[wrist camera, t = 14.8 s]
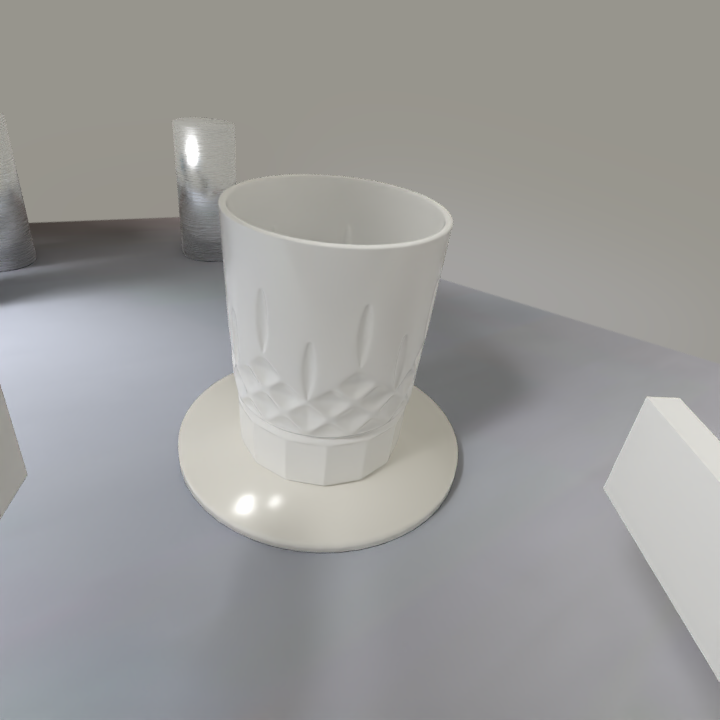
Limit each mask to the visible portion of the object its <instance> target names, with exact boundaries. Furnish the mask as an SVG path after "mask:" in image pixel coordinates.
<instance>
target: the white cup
mask: <svg viewBox="0 0 720 720" xmlns="http://www.w3.org/2000/svg"><path fill="white" fill-rule="evenodd" d="M218 209H219V220H220V231H221V243H222V254H223V267H224V279H225V291H226V304H227V316H228V326H229V335H230V342H231V347H232V363H233V372H234V376H235V381H236V385H237V389H238V398H239V412H240V426H241V437H242V440H243V442H244V444H245V445H246V447H247V449H248V450H249V452H250V453H251V455H252V457H253V458H254V460H255V462H256V463H258V464H259V465H261V466H263V467H264V468H266V469H268V470H270V471H271V472H273V473H275V474H277V475H278V476H280V477H282V478H283V479H285V480H290V481H296V482H302V483H308V484H314V485H320V486H327V485H333V484H339V483H345V482H351V481H356V480H361V479H362V478H364V477H366V476H367V475H369V474H370V473H372V472H374V471H375V470H377V469H378V468H380V467H381V466H383V465H385V464H386V463H387V462H388V460H389V458H390V456H391V454H392V452H393V450H394V448H395V446H396V444H397V441H398V439H399V435H400V430H401V426H402V421H403V417H404V412H405V408H406V405H407V403H408V401H409V399H410V396H411V392H412V389H413V385H414V381H415V377H416V372H417V368H418V365H419V361H420V358H421V354H422V350H423V346H424V343H425V340H426V336H427V332H428V328H429V323H430V319H431V315H432V311H433V306H434V302H435V298H436V293H437V289H438V285H439V280H440V276H441V272H442V268H443V263H444V259H445V255H446V251H447V247H448V243H449V238H450V234H451V230H452V226H453V219H452V216H451V214H450V213H449V212H448V210H446V208H444V207H443V206H442V205H440V204H439V203H438V202H436V201H434V200H432V199H431V198H429V197H426V196H424V195H422V194H419V193H417V192H414V191H411V190H408V189H405V188H402V187H399V186H395V185H391V184H386V183H382V182H378V181H373V180H366V179H361V178H354V177H346V176H345V177H344V176H335V175H319V174H291V175H290V174H289V175H275V176H267V177H260V178H255V179H250V180H247V181H243V182H240V183H238V184H235V185H233V186H231V187H229V188H227V189H226V190H225V191H224V192H222V194H221V195H220V197H219V199H218Z"/></svg>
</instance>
